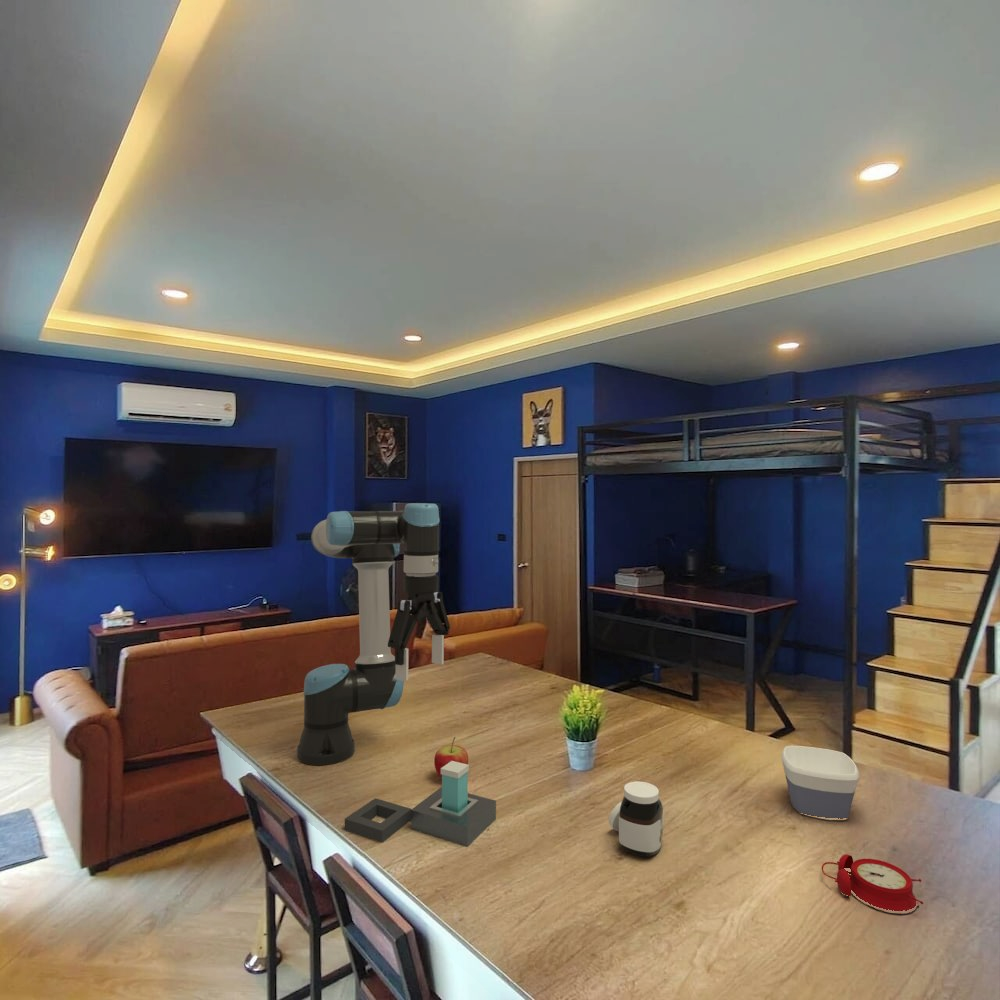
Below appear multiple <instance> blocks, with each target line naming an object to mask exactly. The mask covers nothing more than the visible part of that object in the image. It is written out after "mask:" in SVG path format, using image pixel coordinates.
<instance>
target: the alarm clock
mask: <svg viewBox="0 0 1000 1000" xmlns="http://www.w3.org/2000/svg"><path fill="white" fill-rule="evenodd" d="M828 864H830V865H837V869H838V871H837V874H836V877H834V876H831V875H829V874H827V873H826V872H825V871H824V866H825V865H828ZM844 868H850V869H851V872H848V871H846V870H845V869H844ZM821 871H822V873H823V874H824V875H825V876H826V877H828V878H829V879H832V880H834V882H835V883H836V884H837V887H838V889H840V890H839V891H841V892H842V893H843V894H845V895H848V896H850V897H851V896H852V894H851V890H852V891H853V892H854V893H855V894H856V896H858V897H859V898H860V899H862V900H864V901H865V902H868V903H869V904H870V905H871V904H872V905H873V906H876V907H879V908H883V909H886V910H888V909H889V910H892V911H893V910H894V911H903V910H905V911H907V910H909V909H912V908H914V907H915V906H916V901H917V903H920V904H921V905H924V901H923V900H919V899H918V898H916V897H915V895H914V892H913V889H914V884H913V882H920V883H921V882H922V879H921V878H918V879H914V878H911V876H910V875H909V874H908V873H907V872H905V871H904V870H903V869H901V868H900V867H898V866H896V865H894V864H892V863H889V862H887V861H884V860H883V861H882V860H880V859H873V858H859V859H855V860H854V858H853V856H852V855H850V854H846V853H845V854H843V855H842V856H841V857H840V858H839V861H836V862H833V861H832V862H831V861H828V862H827V861H826V862H823V864H822V865H821ZM848 873H849V874H851V875H848ZM841 892H840V893H841ZM842 893H841V894H842Z"/></svg>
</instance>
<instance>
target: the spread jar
mask: <svg viewBox="0 0 1000 1000" xmlns="http://www.w3.org/2000/svg"><path fill="white" fill-rule="evenodd" d="M659 792H660V791H659V788H658V787H657V786H656V785H654V784H652V783H649V782H645V781H639V780H638V781H630V782H627V783H626V784H624V787H623V794H624V796H623V798H622V801H619V803H617V804H616V805H615V806H614V807H613V809H612V810H611V812H610V814H609V817H608V824H609V826H610V827H611V828H612V829H613V830H614V831H617V832H618V840H619V841H618V842H619V844H620V846H621V847H622V848H623V849H624V850H625V851H627V852H628V853H630V854H632V855H634V856H638V857H645V858H646V857H652V856H655V855H657V854H658V853H659V852H660V850H661V846H662V843H663V836H664V835H663V834H664V808H663V807H664V806H663V803H662V801H661V799H660V798H659V796H660V795H659V794H660V793H659Z"/></svg>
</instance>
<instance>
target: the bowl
mask: <svg viewBox="0 0 1000 1000" xmlns="http://www.w3.org/2000/svg"><path fill="white" fill-rule="evenodd" d="M781 761H782V767H783V770H784V774H785V779H786V780H785V781H786V786H787V790H788V794H789V795H788V796H789V798H790V803H791V805H793V806H794V807H793V806H792V807H793V809H794V808H795V809H796V810H797V811H798V812H800V813H803V814H807V815H811V816H817V817H825V818H838V819H839V818H840V819H843V818H848V819H849V816H850V811H851V808H852V806H853V805H852V804H853V800H854V797H855V793H856V790H857V786H858V782H859V779H860V772H859V769H858V766H857V765H856V763H855V762H854V761H853V759H852V758H851V757H850V756H848V755H847V754H846V753H844V752H842V751H837V750H833V749H827V748H821V747H813V746H807V745H806V746H805V745H803V746H802V745H787V746H785V747H784V748H783V750H782V752H781ZM795 809H794V810H795ZM796 810H795V811H796ZM797 811H796V812H797ZM798 812H797V813H798Z"/></svg>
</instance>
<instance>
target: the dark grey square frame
mask: <svg viewBox="0 0 1000 1000" xmlns="http://www.w3.org/2000/svg"><path fill="white" fill-rule="evenodd" d="M411 809H412V808H410V807H408V806H404V805H401V804H397V803H393V802H390V801H386V800H384V799H379V798H374V799H372V800H370V801H369V802H368V803H366V804H365V805H363V806H361V807H360V808H358V809H357V810H355V811H354V812H352V813H351V814H349V815H348V816H346V817H345V818H344V831H345V832H346V831H347V832H349V833H353V834H356V835H359V836H362V837H364V838H368V839H371V840H373V841H376V842H380V843H384V842H385V841H387V840H388V839H390V838H391V836H393V835H394V834H395V833H397V832H398V831H399V830H400V829H402V828H403V827H405V825H407V824H408V823H409V822H411ZM375 816H376V817H380V818H384V820H383V821H381V822H378V821H376V820H373V819H374V818H375Z"/></svg>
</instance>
